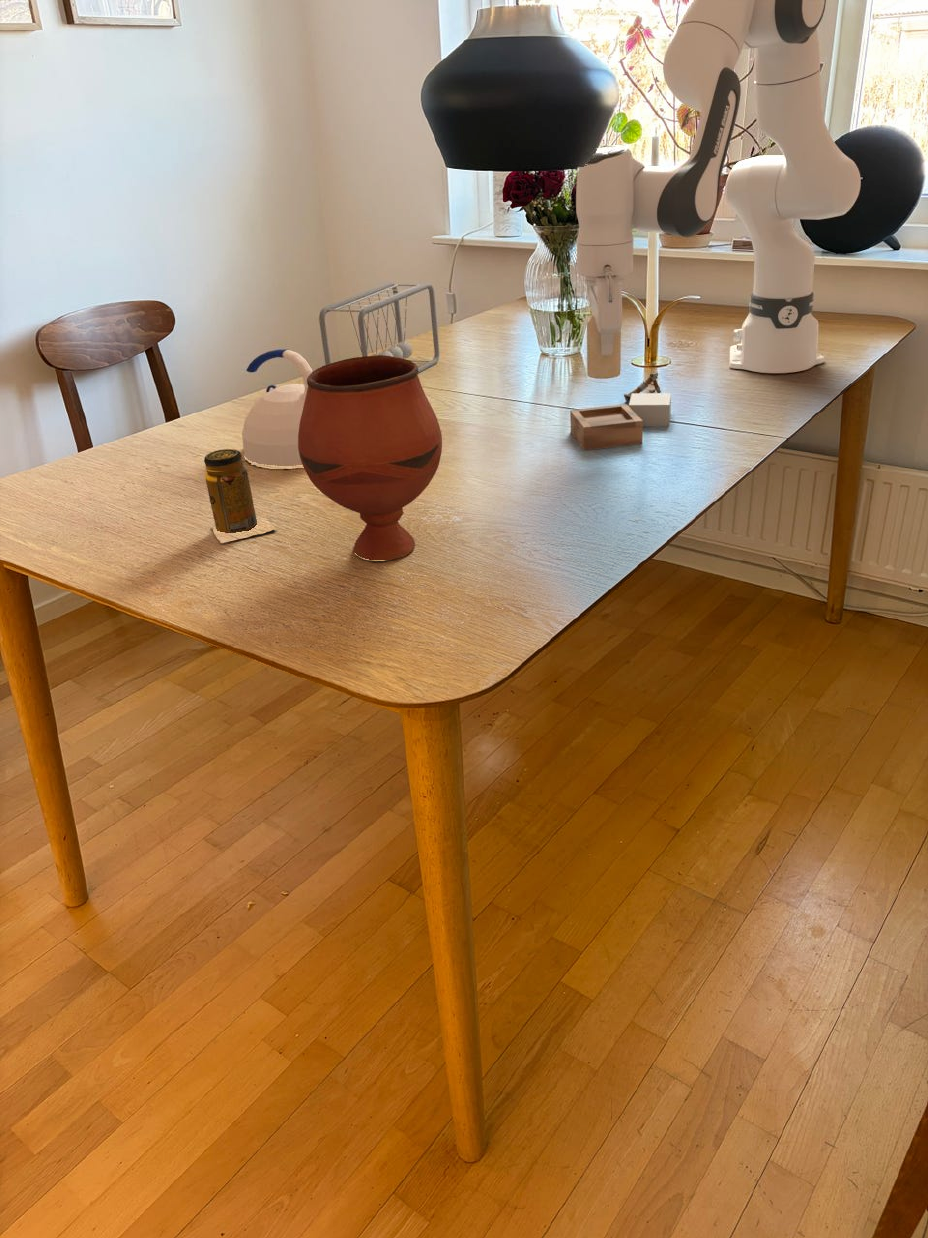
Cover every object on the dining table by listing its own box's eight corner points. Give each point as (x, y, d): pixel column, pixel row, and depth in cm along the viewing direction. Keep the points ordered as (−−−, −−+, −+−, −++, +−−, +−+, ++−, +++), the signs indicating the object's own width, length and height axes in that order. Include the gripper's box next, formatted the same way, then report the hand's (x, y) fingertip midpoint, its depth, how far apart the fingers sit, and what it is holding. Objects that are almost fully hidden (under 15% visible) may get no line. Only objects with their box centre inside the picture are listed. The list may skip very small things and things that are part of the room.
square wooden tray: (570, 432, 173) (570, 410, 172) (625, 425, 174) (626, 403, 172) (584, 450, 165) (583, 427, 163) (642, 443, 166) (642, 420, 164)
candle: (619, 378, 161) (619, 316, 156) (585, 379, 162) (585, 317, 158) (621, 370, 166) (622, 309, 161) (588, 370, 167) (588, 310, 162)
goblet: (382, 511, 148) (362, 344, 136) (481, 538, 137) (468, 358, 125) (286, 558, 136) (254, 379, 124) (385, 592, 124) (361, 399, 112)
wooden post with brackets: (666, 389, 189) (659, 370, 186) (636, 414, 187) (629, 395, 184) (660, 388, 190) (653, 368, 187) (630, 412, 189) (623, 393, 186)
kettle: (301, 478, 163) (283, 370, 155) (219, 459, 175) (198, 358, 166) (381, 441, 177) (369, 340, 168) (300, 426, 189) (285, 331, 180)
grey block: (631, 414, 180) (631, 393, 178) (670, 414, 179) (671, 393, 177) (628, 426, 174) (628, 405, 173) (668, 427, 173) (669, 404, 171)
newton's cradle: (401, 359, 228) (393, 279, 220) (441, 361, 224) (434, 280, 215) (328, 396, 205) (316, 309, 197) (371, 399, 201) (360, 310, 192)
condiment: (210, 528, 147) (194, 452, 141) (266, 515, 150) (252, 440, 144) (220, 545, 141) (203, 466, 135) (277, 532, 144) (263, 454, 138)
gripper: (632, 270, 146) (631, 363, 153) (618, 249, 164) (618, 333, 171) (589, 273, 147) (590, 365, 153) (580, 252, 164) (581, 335, 171)
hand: (604, 348), depth 162 cm, fingers closed on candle, 5 cm apart
